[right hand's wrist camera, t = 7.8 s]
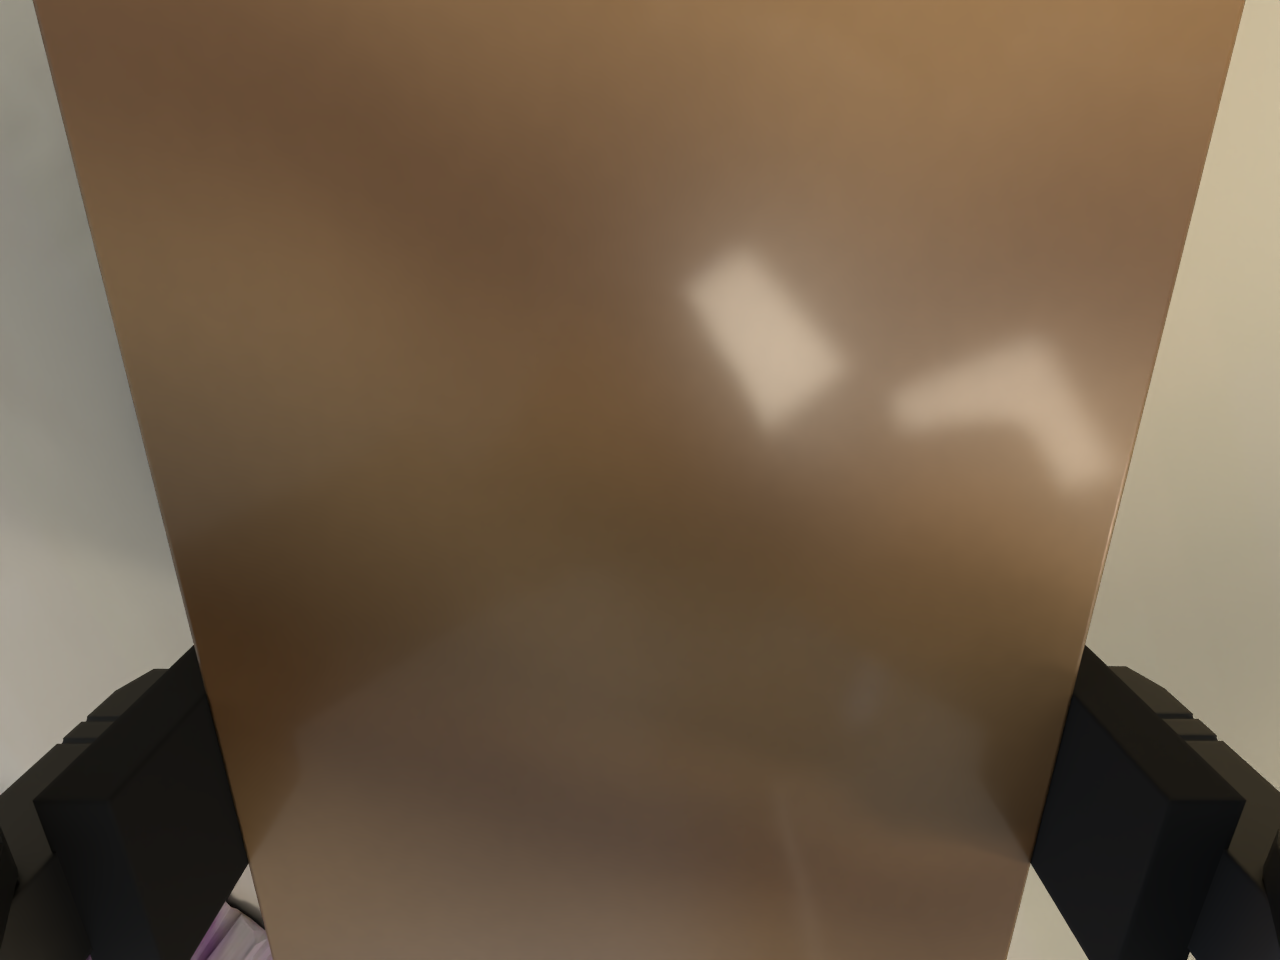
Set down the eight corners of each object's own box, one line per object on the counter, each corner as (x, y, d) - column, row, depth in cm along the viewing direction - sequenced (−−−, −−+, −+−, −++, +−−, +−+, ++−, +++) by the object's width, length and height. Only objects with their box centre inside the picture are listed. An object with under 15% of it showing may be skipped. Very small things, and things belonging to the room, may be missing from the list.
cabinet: (285, -577, 11) (-640, -2647, 3) (993, -577, 11) (1914, -2647, 3) (430, 651, 18) (273, 975, 10) (848, 651, 18) (1005, 975, 10)
